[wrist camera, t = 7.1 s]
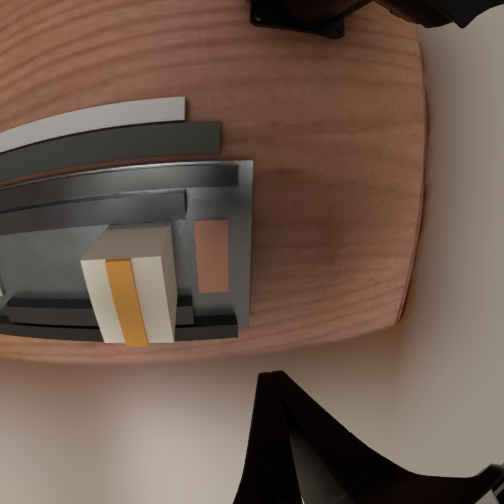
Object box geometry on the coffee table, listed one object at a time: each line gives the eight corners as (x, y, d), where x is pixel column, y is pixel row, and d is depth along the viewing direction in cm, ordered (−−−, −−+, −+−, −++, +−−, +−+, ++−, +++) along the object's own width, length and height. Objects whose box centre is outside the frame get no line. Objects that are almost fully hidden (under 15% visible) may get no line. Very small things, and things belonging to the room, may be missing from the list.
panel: (249, 158, 17) (257, 162, 15) (245, 315, 22) (251, 336, 20) (-34, 195, 13) (-52, 204, 11) (2, 316, 18) (-10, 333, 16)
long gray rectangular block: (218, 98, 15) (220, 94, 14) (217, 150, 17) (219, 152, 15) (-25, 145, 12) (-38, 148, 10) (-22, 185, 13) (-35, 191, 12)
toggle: (170, 221, 16) (160, 259, 12) (177, 292, 18) (173, 346, 14) (109, 225, 16) (78, 263, 11) (121, 294, 18) (103, 346, 13)
